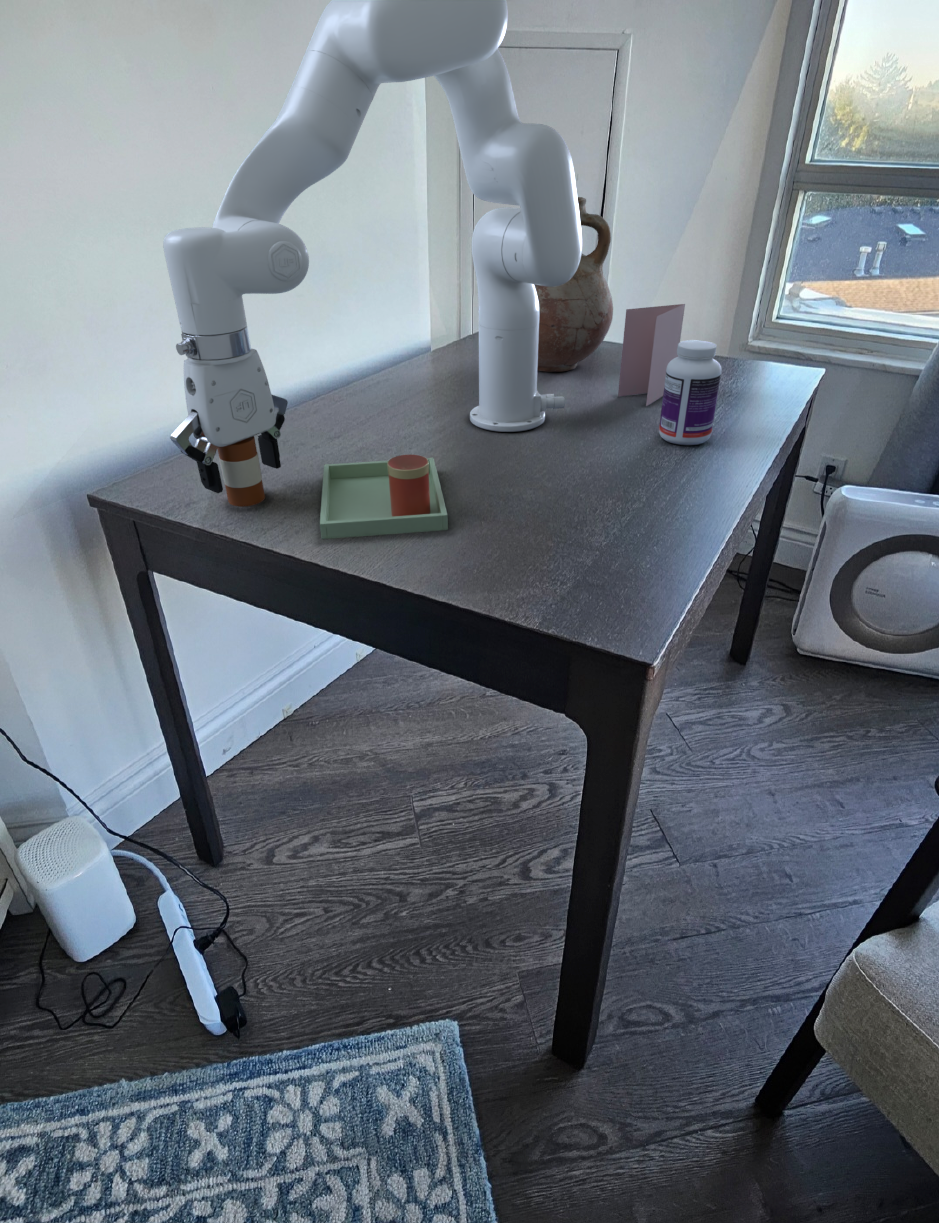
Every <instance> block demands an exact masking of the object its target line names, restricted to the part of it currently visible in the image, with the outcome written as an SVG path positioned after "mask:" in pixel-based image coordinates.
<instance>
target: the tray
mask: <svg viewBox="0 0 939 1223" xmlns="http://www.w3.org/2000/svg"><path fill="white" fill-rule="evenodd" d="M426 458H427V459H428V461H429V491H430V514H422V515H407V516H393V517H392V514H391V501H390V488H389V475H388V467H387V462H388V461H389V460H374V461H360V462H358V461H357V462H342V463H327V464H323V471H322V474H323V475H322V487H321V488H322V489H321V502H320V515H319V516H320V517H319V530H320V536H321V540H327V539H329V540H330V539H342V538H354V537H355V538H356V537H369V536H370V537H371V536H383V535H385V536H386V535H398V534H410V533H426V532H439V531H448V530H449V524H448V520H449V519H448V518H449V517H448V512H447V507H446V504H445V499H444V495H443V491H442V487H441V483H440V478H439V474H438V471H437V470H438V469H437V467H436V466H437V465H436V462H435V458H434V457H426Z"/></svg>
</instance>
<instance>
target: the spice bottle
mask: <svg viewBox="0 0 939 1223" xmlns="http://www.w3.org/2000/svg"><path fill="white" fill-rule="evenodd" d="M217 455H218V460H219V465H220V470H221V474H222V475H221V476H222V480H223V484H224V488H225V492H226V498H227V501H228V504H229V505H231V506H234V507H242V508H243V507H251V506H254V505H255V506H256V505H258V504H260V503H262V502H263V501H264V500H265V499H266V494H265V489H264V488H265V487H264V484H263V483H264V482H263V476H262V469H261V464H260V460H259V459H260V458H259V453H258V450H257V444H256V437H255V436H252V437H250V438H247V439H244V440H242V441H239V442H236V443H233V444H231V445H228V446H224V447H218V448H217Z"/></svg>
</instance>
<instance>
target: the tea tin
mask: <svg viewBox="0 0 939 1223" xmlns="http://www.w3.org/2000/svg"><path fill="white" fill-rule="evenodd" d="M427 458H428V457H425V456H423V455H419V454H409V453H408V454H401V455H396V456H393V457H391V458H389V459H388V460H387V461H388V462H387V467H388V475H389V488H390V501H391V514H392V517H393V516H407V515H422V514H430V491H429V461H428V459H427Z"/></svg>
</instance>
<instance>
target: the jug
mask: <svg viewBox="0 0 939 1223" xmlns="http://www.w3.org/2000/svg"><path fill="white" fill-rule="evenodd" d="M577 199H578V207H579V215H580V223H581V226H584V227H589V228H592V229H593V230H595V231H596V233H597V243H596V246H595V249H594V250H592V252H590V253H588V254H587V255H585V254H584V253H583V252H582V253H581V259H580V263H579V266H578V268H577V271H576V272H575V274H574V275H573V277H572V278H571V279H570V280H569V281H567V282H566V283H564V284H562V285H559V286H554V287H548V286H541V285H535V284H534V286H535V289H536V292H537V296H538V301H539V310H540V317H539V340H538V367H537V371H538V372H545V373H546V372H547V373H555V372H558V373H561V372H563V373H564V372H568V371H572V370H574V369H576V368H577V366H578V363H579V362H581V361H583V360H585V359H586V358H588V357H589V356H591V355H592V354H593V353H594V352H595V351H597V349H598V348H599V347H600V346H601V344H602V343H603V342H604V340H605V338H606V336H607V334H608V332H609V330H610V328H611V326H612V322H613V316H614V304H613V297H612V294H611V291H610V287H609V284H608V282H607V279H606V277H605V274H604V270H603V267H604V266H603V265H604V263H605V261H606V258H607V256H608V254H609V249H610V246H611V241H612V236H611V235H612V234H611V228H610V226H609V224H608V222H607V221H606V219H605V218H604V217H603V216H601V215H599V214H597V213H594V214H593V213H589V212H587V209H586V208H587V207H586V204H587V198H585V197H582V196H577Z"/></svg>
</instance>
